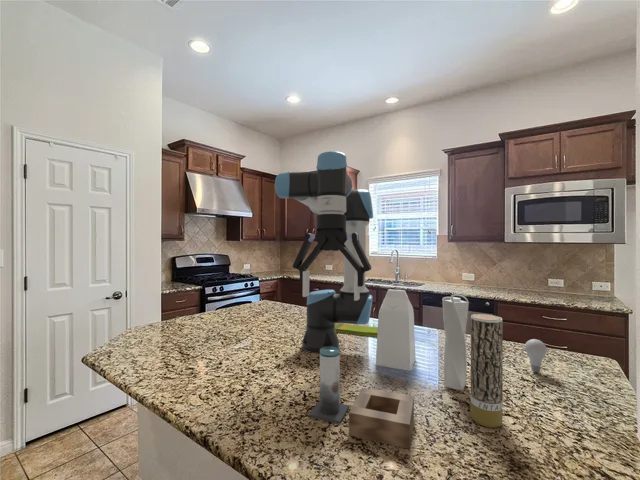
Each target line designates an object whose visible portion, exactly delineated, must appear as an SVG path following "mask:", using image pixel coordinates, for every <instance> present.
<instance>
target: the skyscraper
mask: <svg viewBox="0 0 640 480" xmlns="http://www.w3.org/2000/svg"><path fill="white" fill-rule="evenodd" d="M461 298H463V299H465V300H462V299H461ZM469 303H470V302H469V299H468V298H467V297H466V296H465V295H463V294H459V293H456V294H455V293H454V294H451V295H450V296H444V297H442V321H443V327H444V328H443V329H444V335H445V340H444V354H443V358H444V359H443V383H444V384H443V385H444V387H445V388H449V389H454V390H458V391H461V392H464V390H465V389H464V388H465V386H466V385H467V368H468V363H467V360H468V359H467V345H466V344H467V343H466V338H465V337H466V336H465V334H466V329H467V323H468V315H469Z"/></svg>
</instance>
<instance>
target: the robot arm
mask: <svg viewBox="0 0 640 480" xmlns="http://www.w3.org/2000/svg"><path fill="white" fill-rule="evenodd" d="M316 162H317V163H316V171H296V172H294V171H293V172H289V171H288V172H282V173H278V174H277V176H276V177H275V179H274V180H275V181H274V188H275V193H276V195H277V197H278V198H279V199H287V200H288V199H294V200H296V201H297V202H299V203H301V204H303V205H305V206H307V207H308V208H309V211H311V212H312V213H314V214H316V232H315V233H313V234H312V233H310V232H309V233H308V232H305V233H304V239H303V243H302V245H301V247H300V249H299V252H298V253H297V256H296V258H295V259H294V262H293V264H292V268H293V269H296V270H298V271H299V283H300V284H302V297H303V298H306V304H305V305H306V329H305V332H304V334H303V339H302V341H301V348H302V349H303V351H305V352H309V353H314V354H320V349H321V348H323V347H336V348H339V349H340V342H339V338H338V335H337V334H338V333H336V331H335V323H342V324H349V325H367V324H368V323H369V322H370V318H371V313H372V308H373V307H372V306H373V298H374V297H373V295H371V294H370V290H369V289H368V288H367V287H366V272H369V271H370V270H372V265H371V263H370V262H369V259H368V257H367V255H366V246H367V245H366V234H367V233H366V228H367V226H368V225H369V224H370V219H371V220H372V219H373V218H374V209H373V202H372V195H371V192H370V191H369V190H368V189H358V188H357V189H353V181H352V177H350V175H349V174H348V172H347V169H348V168H347V167H348V164H347V163H348V162H347V155H346V154H345V153H344V152H340V151H335V150H334V151H333V150H332V151H325V152H321V153H319V154H318V155H317V160H316ZM314 240H315V241H316V242H317V243H316V245H315V246H314V247H313V250H312V251H311V252H310V253H309V255H308V256H307V254H308V251H309V250H310V247H311V245H312V243H313V242H314ZM323 251H325V252H326V251H333V252H337V251H339V252H340V253H342V255H343V256H344V258H343V286H342V287H341V288H340V289H339V293H336V291H335V290H334V289H321V290H314V291H311V292H310V270H308V268H310V266H311V265H312V264H313V262H314V260H315V259H316V258H317V257H318V255H320V254H321V252H323ZM306 256H307V257H306Z"/></svg>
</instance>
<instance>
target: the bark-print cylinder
mask: <svg viewBox="0 0 640 480" xmlns="http://www.w3.org/2000/svg"><path fill="white" fill-rule="evenodd" d="M503 323H504V322H503V317H500V316H497V315H494V314H493V315H492V314H488V313H487V314H486V313H484V314H483V313H473V314H471V315H470V417H471V419H472V420H473V422H475V423H476V424H478V425H479V426H482V427H485V428H492V429H494V428H500V427H501V426H502V425H503V406H504V405H503V402H504V401H503V400H504V399H503V397H504V396H503V391H504V389H503V387H504V386H503V381H504V380H503V378H504V377H503V372H504V370H503V369H504V368H503V360H504V359H503V348H504V347H503V344H504V343H503V341H504V339H503V329H504V328H503Z"/></svg>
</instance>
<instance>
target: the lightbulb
mask: <svg viewBox="0 0 640 480" xmlns="http://www.w3.org/2000/svg"><path fill="white" fill-rule="evenodd" d="M524 349H525V352H526V354H527V355H528V358H529V359H528V360H529V363H530V370H531V371H532V372H534V373H539V372H541V366H542V363H543V359H544V358H545V357H546V355H547V352H548V350H547V349H548V348H547V346H546V344H545V343H544V342H543V341H541V340H540V339H536V338H532V339H529V340H527V341H526V342H525V345H524Z"/></svg>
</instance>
